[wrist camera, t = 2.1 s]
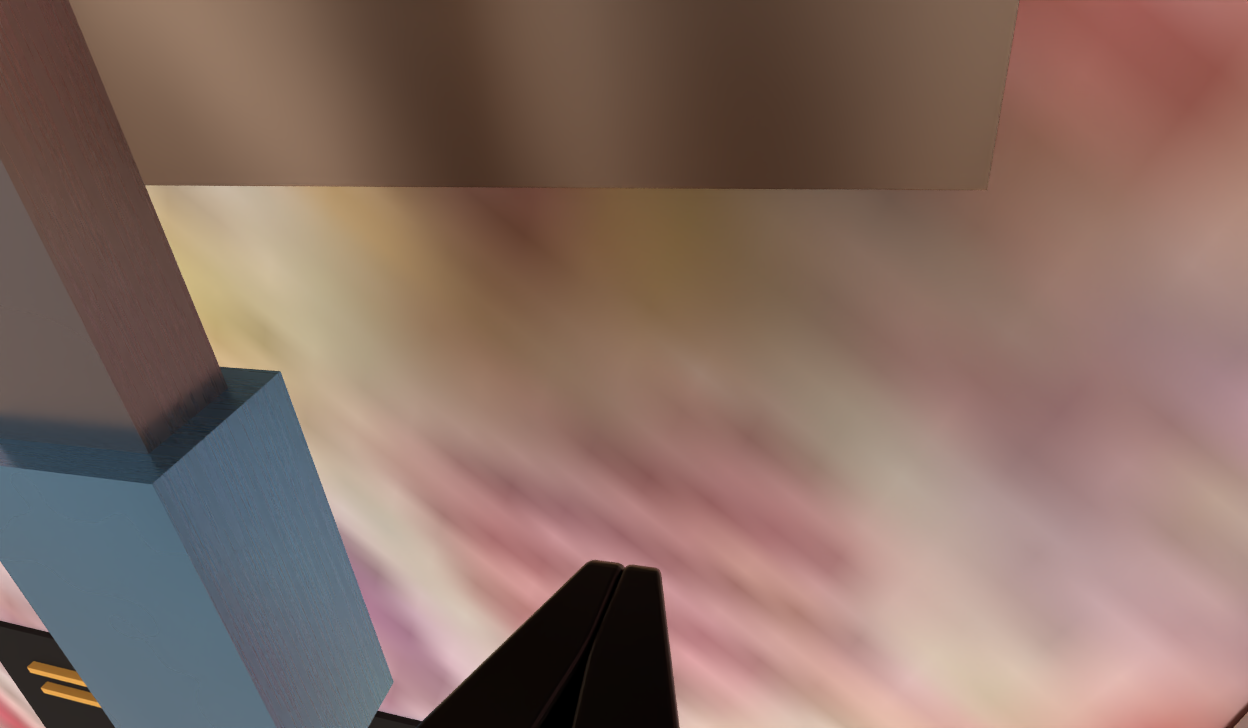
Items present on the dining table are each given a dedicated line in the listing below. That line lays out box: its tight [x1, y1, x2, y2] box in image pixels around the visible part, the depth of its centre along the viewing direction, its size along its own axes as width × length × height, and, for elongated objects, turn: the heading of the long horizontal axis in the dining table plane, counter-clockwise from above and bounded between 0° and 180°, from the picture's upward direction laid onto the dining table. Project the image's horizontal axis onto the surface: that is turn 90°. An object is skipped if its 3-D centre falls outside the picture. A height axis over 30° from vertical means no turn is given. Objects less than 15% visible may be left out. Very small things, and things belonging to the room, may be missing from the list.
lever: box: [0, 0, 393, 728], centre depth 8 cm, size 15×3×2 cm, turn 5°
